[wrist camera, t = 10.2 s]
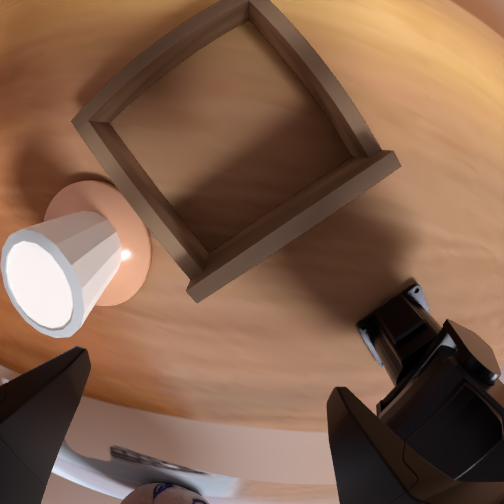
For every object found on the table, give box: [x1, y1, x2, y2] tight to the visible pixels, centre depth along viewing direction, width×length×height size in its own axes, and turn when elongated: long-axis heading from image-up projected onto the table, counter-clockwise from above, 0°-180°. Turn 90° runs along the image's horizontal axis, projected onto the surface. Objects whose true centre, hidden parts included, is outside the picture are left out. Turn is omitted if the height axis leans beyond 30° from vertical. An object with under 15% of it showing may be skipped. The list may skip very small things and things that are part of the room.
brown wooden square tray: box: [71, 0, 402, 303], centre depth 15 cm, size 14×14×4 cm
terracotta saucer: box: [43, 180, 152, 306], centre depth 19 cm, size 10×10×1 cm
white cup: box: [1, 211, 122, 338], centre depth 16 cm, size 7×7×7 cm
